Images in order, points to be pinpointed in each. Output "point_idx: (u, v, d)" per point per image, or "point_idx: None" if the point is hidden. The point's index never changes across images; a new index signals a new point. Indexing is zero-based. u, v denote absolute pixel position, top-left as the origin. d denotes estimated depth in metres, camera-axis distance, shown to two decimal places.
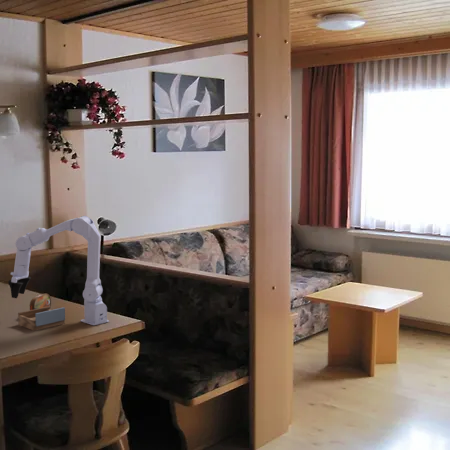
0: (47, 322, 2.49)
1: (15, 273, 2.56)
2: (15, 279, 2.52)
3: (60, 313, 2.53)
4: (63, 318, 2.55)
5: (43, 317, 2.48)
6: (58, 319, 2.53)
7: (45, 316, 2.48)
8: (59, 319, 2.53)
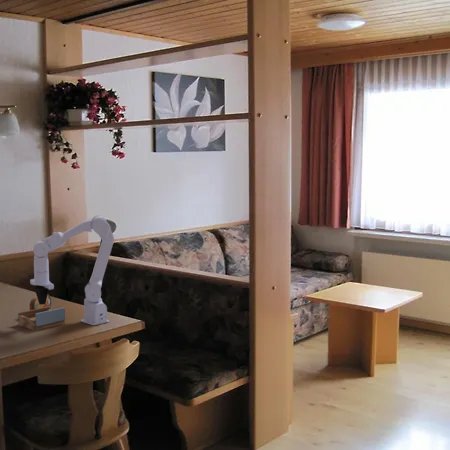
0: (47, 322, 2.49)
1: (42, 281, 2.50)
2: (53, 285, 2.48)
3: (60, 313, 2.53)
4: (63, 318, 2.55)
5: (43, 317, 2.48)
6: (58, 319, 2.53)
7: (45, 316, 2.48)
8: (59, 319, 2.53)
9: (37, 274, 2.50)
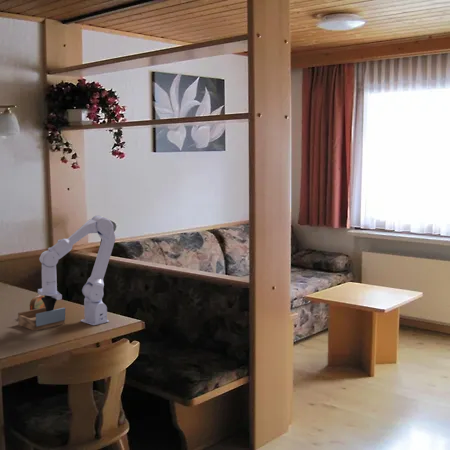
0: (47, 322, 2.49)
1: (49, 291, 2.47)
2: (61, 295, 2.45)
3: (60, 313, 2.53)
4: (63, 318, 2.55)
5: (43, 317, 2.48)
6: (58, 319, 2.53)
7: (45, 316, 2.48)
8: (59, 319, 2.53)
9: (45, 284, 2.46)
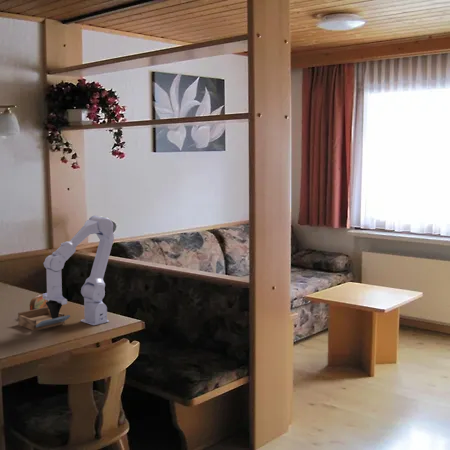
0: (47, 324, 2.49)
1: (54, 296, 2.45)
2: (66, 300, 2.43)
3: (63, 319, 2.52)
4: (63, 320, 2.55)
5: (46, 323, 2.47)
6: None
7: (48, 322, 2.47)
8: (59, 321, 2.53)
9: (50, 289, 2.44)
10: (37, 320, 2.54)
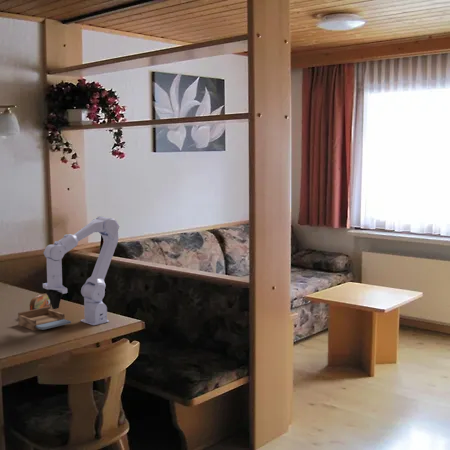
0: None
1: (55, 285, 2.44)
2: (66, 289, 2.43)
3: None
4: None
5: None
6: None
7: None
8: None
9: (50, 278, 2.44)
10: (37, 320, 2.54)
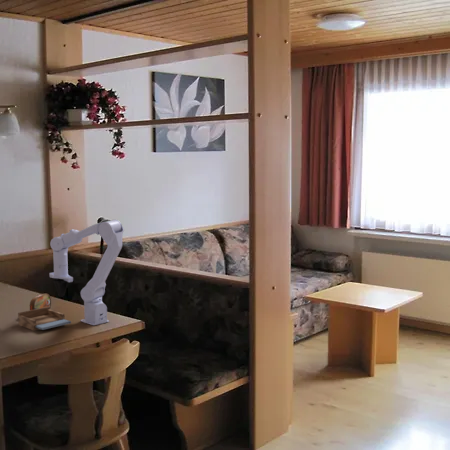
0: None
1: (61, 274, 2.60)
2: (72, 278, 2.58)
3: None
4: None
5: None
6: None
7: None
8: None
9: (57, 267, 2.60)
10: (37, 320, 2.54)
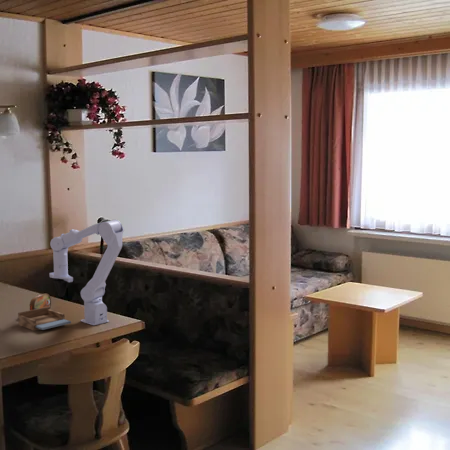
0: None
1: (61, 274, 2.60)
2: (72, 278, 2.58)
3: None
4: None
5: None
6: None
7: None
8: None
9: (57, 267, 2.60)
10: (37, 320, 2.54)
